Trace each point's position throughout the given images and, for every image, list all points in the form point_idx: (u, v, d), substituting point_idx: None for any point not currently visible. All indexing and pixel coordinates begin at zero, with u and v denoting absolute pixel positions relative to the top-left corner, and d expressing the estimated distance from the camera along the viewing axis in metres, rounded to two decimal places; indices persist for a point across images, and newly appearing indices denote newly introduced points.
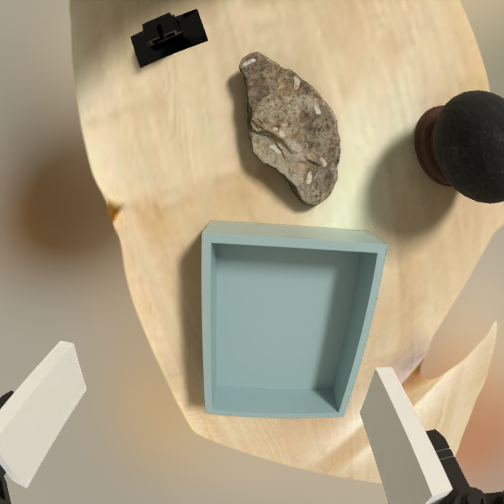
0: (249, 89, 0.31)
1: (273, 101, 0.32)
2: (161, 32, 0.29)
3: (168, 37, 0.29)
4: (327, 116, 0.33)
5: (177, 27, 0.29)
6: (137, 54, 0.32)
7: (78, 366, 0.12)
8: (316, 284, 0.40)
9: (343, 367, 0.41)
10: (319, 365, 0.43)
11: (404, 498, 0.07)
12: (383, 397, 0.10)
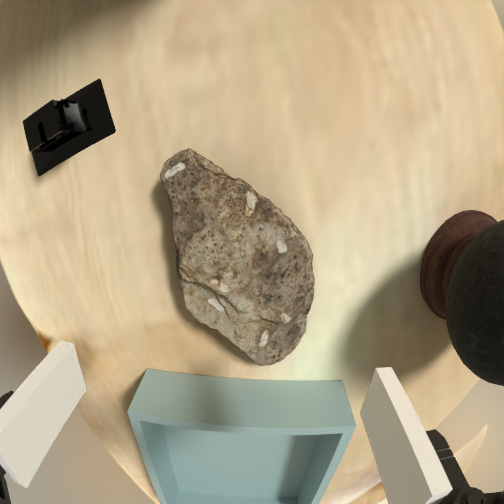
0: (175, 218, 0.22)
1: (211, 239, 0.22)
2: None
3: (57, 138, 0.20)
4: (297, 252, 0.24)
5: (66, 122, 0.19)
6: (34, 153, 0.23)
7: (78, 366, 0.12)
8: None
9: (305, 492, 0.32)
10: (282, 484, 0.34)
11: (404, 498, 0.07)
12: (383, 398, 0.10)
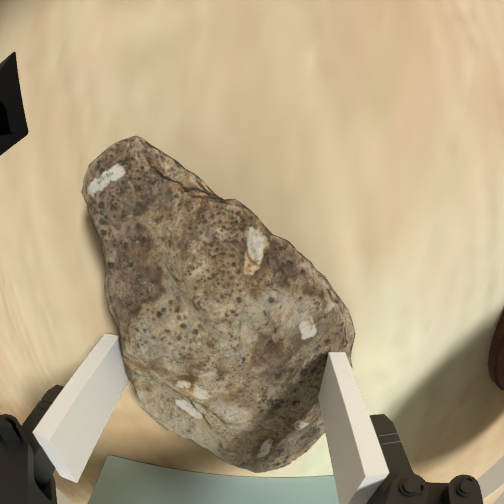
0: (108, 273, 0.11)
1: (175, 316, 0.11)
2: None
3: None
4: (332, 333, 0.13)
5: None
6: None
7: (122, 358, 0.13)
8: None
9: None
10: None
11: (346, 479, 0.08)
12: (333, 380, 0.11)
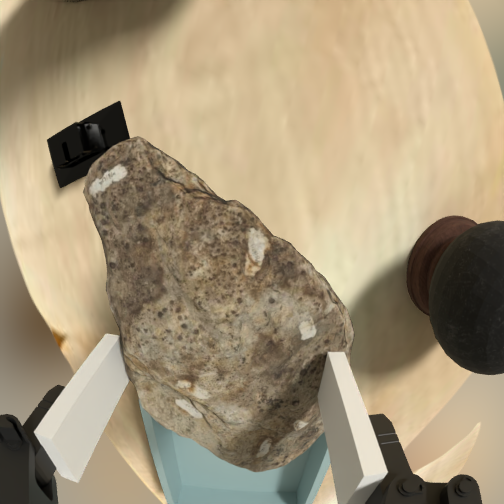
0: (110, 273, 0.11)
1: (176, 316, 0.11)
2: None
3: (80, 157, 0.24)
4: (332, 334, 0.13)
5: (88, 143, 0.23)
6: (55, 168, 0.27)
7: (123, 358, 0.13)
8: None
9: (304, 484, 0.34)
10: (281, 477, 0.37)
11: (345, 479, 0.08)
12: (332, 380, 0.11)
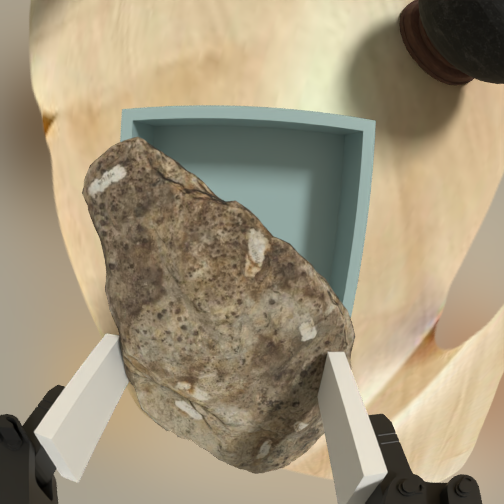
0: (109, 274, 0.11)
1: (176, 317, 0.11)
2: None
3: None
4: (332, 335, 0.13)
5: None
6: None
7: None
8: (285, 195, 0.29)
9: None
10: None
11: (345, 479, 0.08)
12: (332, 380, 0.11)
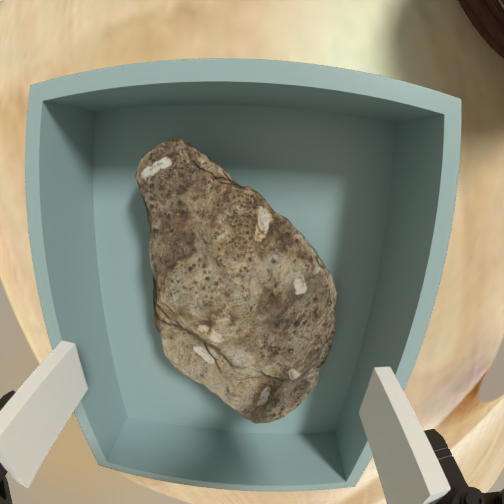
0: (152, 237, 0.15)
1: (202, 270, 0.15)
2: None
3: None
4: (319, 293, 0.17)
5: None
6: None
7: (79, 366, 0.12)
8: (301, 219, 0.18)
9: (360, 400, 0.19)
10: (311, 394, 0.21)
11: (402, 497, 0.07)
12: (382, 397, 0.10)
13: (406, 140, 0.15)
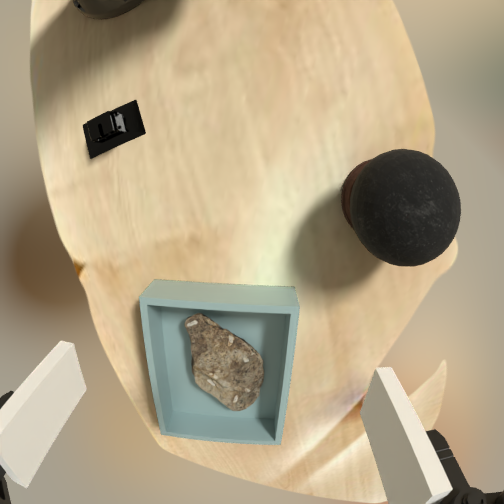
0: (192, 344, 0.42)
1: (210, 355, 0.42)
2: None
3: (109, 134, 0.36)
4: (254, 361, 0.44)
5: (116, 125, 0.35)
6: (88, 144, 0.39)
7: (78, 366, 0.12)
8: (247, 333, 0.45)
9: (277, 402, 0.45)
10: (259, 399, 0.48)
11: (404, 498, 0.07)
12: (383, 397, 0.10)
13: None
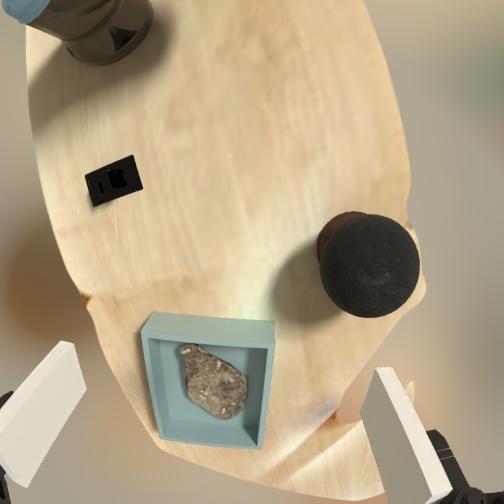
0: (185, 367, 0.48)
1: (201, 376, 0.49)
2: None
3: (109, 190, 0.42)
4: (239, 380, 0.51)
5: (114, 183, 0.41)
6: (90, 193, 0.44)
7: (78, 366, 0.12)
8: (233, 358, 0.51)
9: (259, 414, 0.52)
10: (244, 410, 0.55)
11: (404, 498, 0.07)
12: (383, 398, 0.10)
13: None
